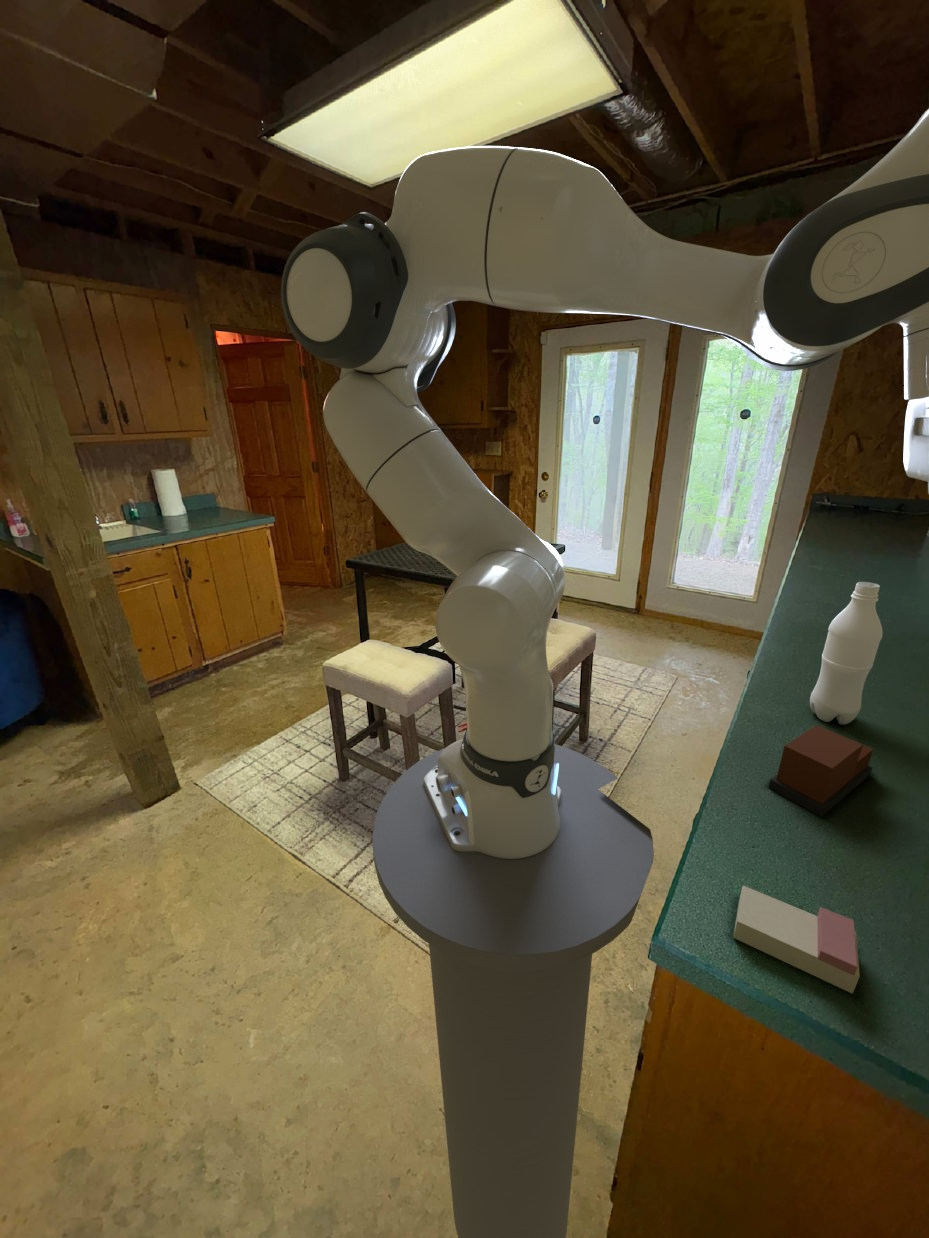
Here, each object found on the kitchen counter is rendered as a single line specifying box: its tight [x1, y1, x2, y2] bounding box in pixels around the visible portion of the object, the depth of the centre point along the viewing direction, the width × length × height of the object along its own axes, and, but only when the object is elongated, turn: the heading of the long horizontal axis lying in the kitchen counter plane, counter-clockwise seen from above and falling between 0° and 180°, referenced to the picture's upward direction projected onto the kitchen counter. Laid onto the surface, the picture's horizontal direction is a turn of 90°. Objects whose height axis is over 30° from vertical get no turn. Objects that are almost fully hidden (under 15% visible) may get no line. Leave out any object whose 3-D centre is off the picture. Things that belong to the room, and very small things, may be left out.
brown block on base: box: [768, 724, 874, 817], centre depth 70 cm, size 15×7×8 cm, turn 122°
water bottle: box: [809, 581, 884, 726], centre depth 82 cm, size 7×7×25 cm
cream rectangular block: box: [733, 885, 861, 994], centre depth 49 cm, size 10×5×4 cm, turn 56°
